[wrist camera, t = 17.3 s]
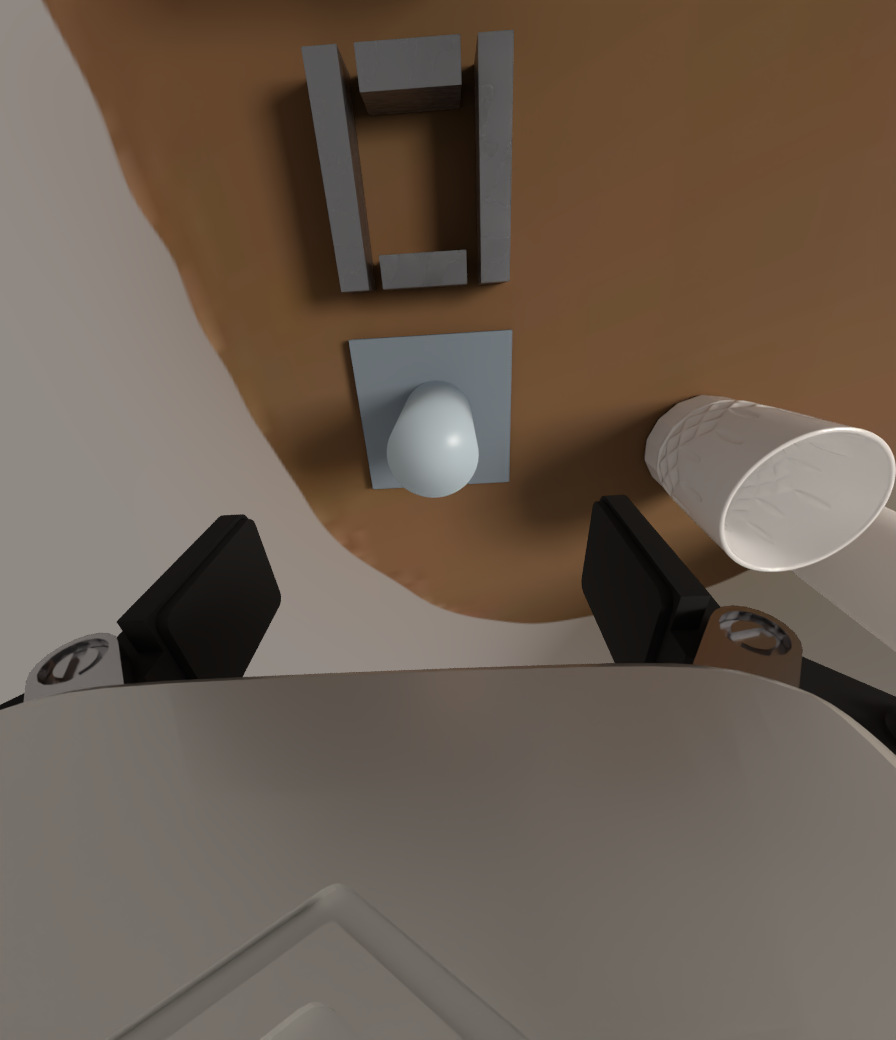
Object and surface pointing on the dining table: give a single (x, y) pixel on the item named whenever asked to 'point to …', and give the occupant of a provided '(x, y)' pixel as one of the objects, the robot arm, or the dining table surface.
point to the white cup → (770, 479)
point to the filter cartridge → (434, 441)
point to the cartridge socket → (407, 89)
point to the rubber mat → (439, 357)
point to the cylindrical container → (862, 578)
